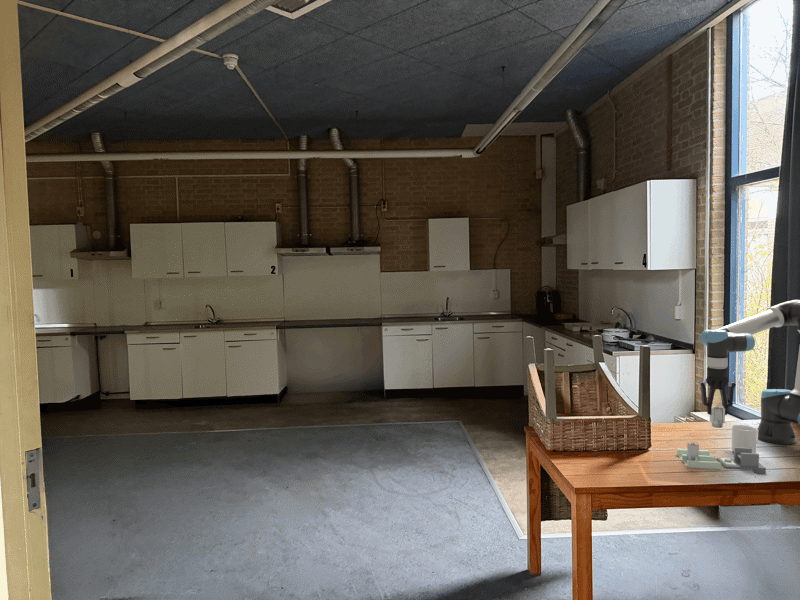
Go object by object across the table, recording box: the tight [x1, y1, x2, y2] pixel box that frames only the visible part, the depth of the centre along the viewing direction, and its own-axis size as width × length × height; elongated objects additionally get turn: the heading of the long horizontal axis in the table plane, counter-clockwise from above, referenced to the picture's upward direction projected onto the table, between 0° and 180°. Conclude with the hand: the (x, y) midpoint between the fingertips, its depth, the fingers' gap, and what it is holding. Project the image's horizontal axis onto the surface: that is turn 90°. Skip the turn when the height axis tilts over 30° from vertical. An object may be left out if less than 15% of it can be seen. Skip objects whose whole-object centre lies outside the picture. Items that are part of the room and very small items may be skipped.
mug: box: [731, 424, 759, 453], centre depth 231 cm, size 12×9×11 cm
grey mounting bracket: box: [716, 447, 767, 474], centre depth 215 cm, size 14×10×7 cm
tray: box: [676, 448, 722, 470], centre depth 219 cm, size 12×15×4 cm
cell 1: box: [686, 442, 700, 461], centre depth 217 cm, size 4×4×9 cm
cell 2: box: [711, 405, 724, 429], centre depth 227 cm, size 4×4×9 cm
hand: (717, 422), depth 227 cm, fingers closed on cell 2, 3 cm apart
